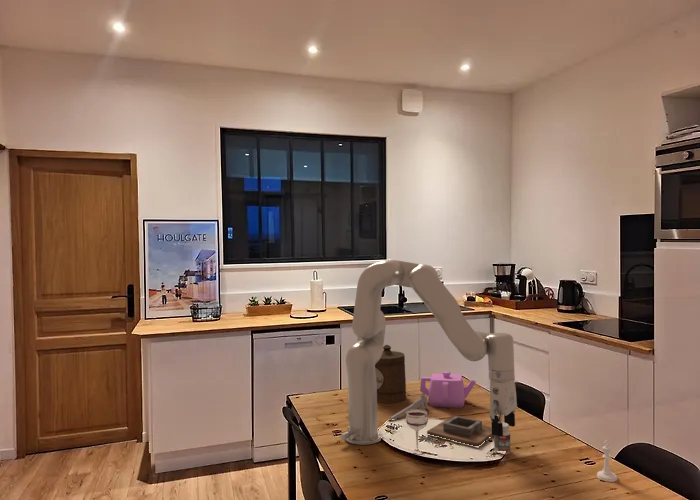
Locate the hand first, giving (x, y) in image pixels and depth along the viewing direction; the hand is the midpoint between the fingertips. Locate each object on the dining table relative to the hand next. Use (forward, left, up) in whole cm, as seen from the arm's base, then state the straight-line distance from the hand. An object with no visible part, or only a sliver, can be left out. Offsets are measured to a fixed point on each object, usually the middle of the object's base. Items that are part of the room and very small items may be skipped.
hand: (503, 430), depth 154 cm
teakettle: (+34, +36, -7) cm, 50 cm away
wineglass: (-15, +21, -7) cm, 27 cm away
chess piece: (0, -29, -7) cm, 29 cm away
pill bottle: (0, 0, -7) cm, 7 cm away
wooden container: (+25, +59, -7) cm, 65 cm away
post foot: (+6, +16, -7) cm, 19 cm away
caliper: (+12, +42, -7) cm, 44 cm away
